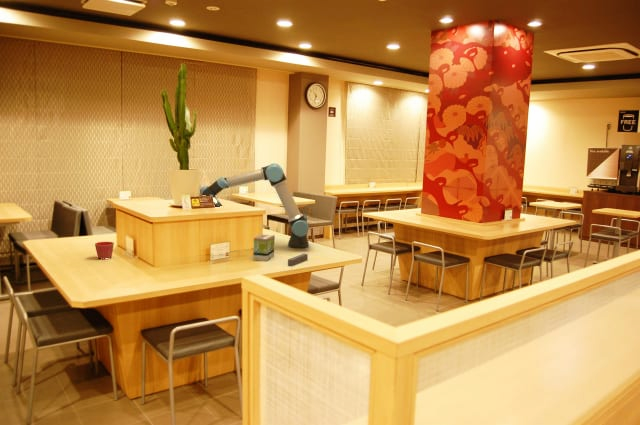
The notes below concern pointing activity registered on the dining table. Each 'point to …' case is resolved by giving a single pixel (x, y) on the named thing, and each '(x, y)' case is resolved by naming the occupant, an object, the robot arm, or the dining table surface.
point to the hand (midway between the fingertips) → (234, 230)
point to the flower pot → (104, 249)
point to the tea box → (264, 247)
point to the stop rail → (297, 259)
